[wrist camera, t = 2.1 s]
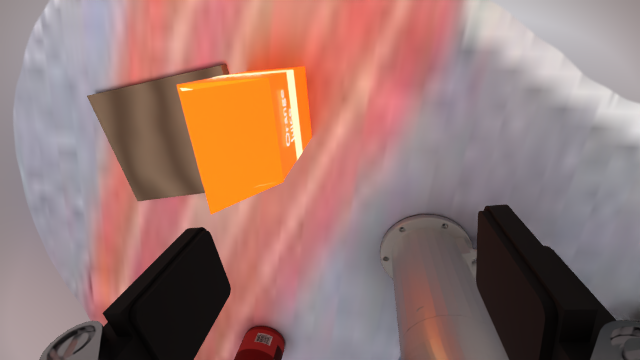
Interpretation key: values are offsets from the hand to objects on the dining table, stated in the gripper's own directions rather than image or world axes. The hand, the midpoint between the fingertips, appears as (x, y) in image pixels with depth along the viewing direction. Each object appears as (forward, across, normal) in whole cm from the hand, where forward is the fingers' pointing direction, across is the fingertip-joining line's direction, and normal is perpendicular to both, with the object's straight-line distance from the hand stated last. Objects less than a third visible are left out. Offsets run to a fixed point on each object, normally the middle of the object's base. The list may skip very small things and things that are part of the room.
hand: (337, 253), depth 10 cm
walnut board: (+29, +26, +1) cm, 38 cm away
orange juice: (+29, +10, -2) cm, 31 cm away
